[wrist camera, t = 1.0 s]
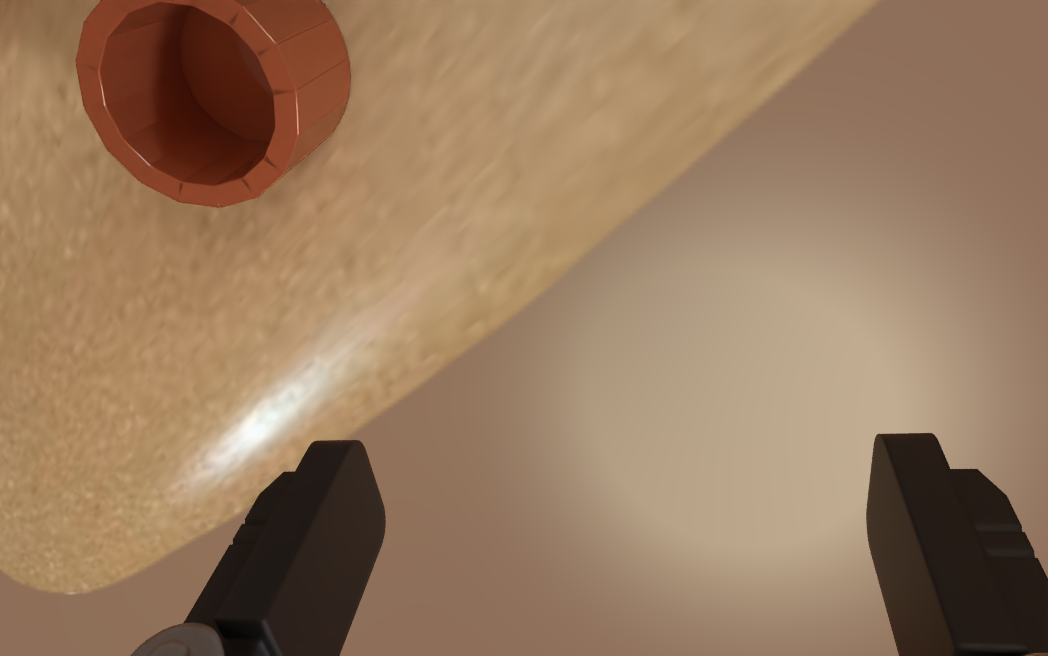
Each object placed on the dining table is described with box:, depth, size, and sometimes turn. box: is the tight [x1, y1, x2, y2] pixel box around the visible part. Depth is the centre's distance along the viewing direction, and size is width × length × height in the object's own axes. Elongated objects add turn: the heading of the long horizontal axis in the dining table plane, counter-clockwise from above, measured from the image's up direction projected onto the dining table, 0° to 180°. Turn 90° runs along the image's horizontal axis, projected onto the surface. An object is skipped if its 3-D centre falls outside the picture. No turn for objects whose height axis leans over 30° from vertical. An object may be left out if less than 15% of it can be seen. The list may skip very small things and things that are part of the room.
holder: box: [76, 0, 351, 208], centre depth 35 cm, size 9×9×7 cm
